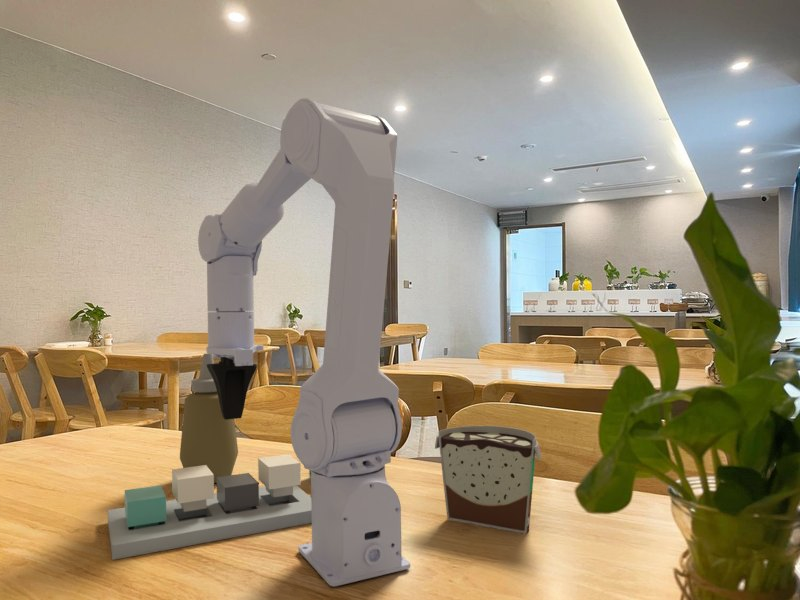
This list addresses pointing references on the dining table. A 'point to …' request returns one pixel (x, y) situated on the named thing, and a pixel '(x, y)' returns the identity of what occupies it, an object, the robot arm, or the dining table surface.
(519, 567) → the dining table surface
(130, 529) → the selector panel
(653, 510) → the dining table surface
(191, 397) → the squeeze bottle
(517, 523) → the food container
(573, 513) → the dining table surface
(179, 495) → the middle ivory key
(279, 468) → the near ivory key
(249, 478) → the dark gray key
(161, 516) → the teal key
